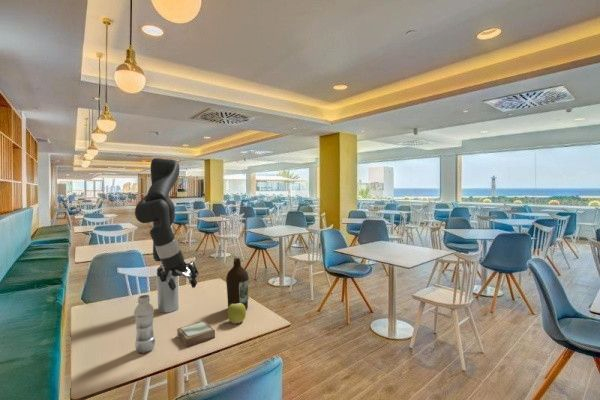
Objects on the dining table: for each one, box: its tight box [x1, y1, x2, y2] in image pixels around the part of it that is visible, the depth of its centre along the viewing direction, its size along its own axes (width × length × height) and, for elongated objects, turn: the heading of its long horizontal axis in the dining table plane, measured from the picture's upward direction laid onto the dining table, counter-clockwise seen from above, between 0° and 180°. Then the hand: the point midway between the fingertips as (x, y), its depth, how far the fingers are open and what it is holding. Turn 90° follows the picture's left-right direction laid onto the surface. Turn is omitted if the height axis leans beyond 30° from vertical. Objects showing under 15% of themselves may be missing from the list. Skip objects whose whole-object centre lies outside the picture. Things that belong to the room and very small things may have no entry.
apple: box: [226, 301, 247, 325], centre depth 136 cm, size 8×8×10 cm
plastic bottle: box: [133, 294, 156, 354], centre depth 112 cm, size 6×7×20 cm
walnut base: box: [176, 320, 216, 348], centre depth 123 cm, size 11×11×3 cm
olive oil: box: [225, 256, 250, 311], centre depth 149 cm, size 11×11×25 cm
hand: (184, 287), depth 118 cm, fingers open, 8 cm apart
